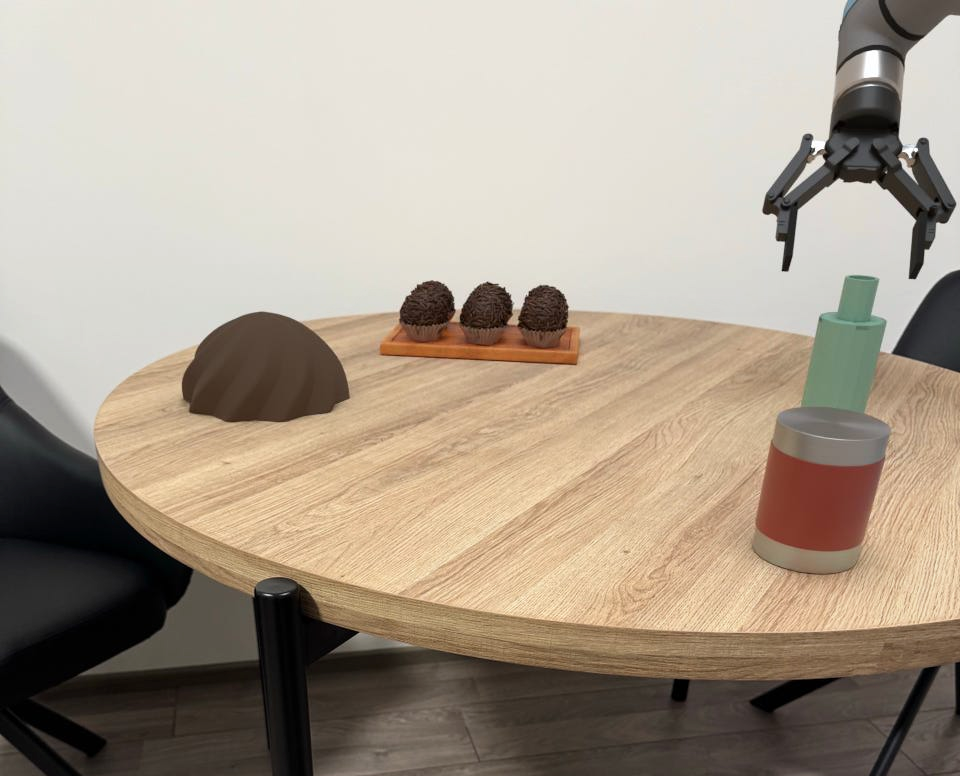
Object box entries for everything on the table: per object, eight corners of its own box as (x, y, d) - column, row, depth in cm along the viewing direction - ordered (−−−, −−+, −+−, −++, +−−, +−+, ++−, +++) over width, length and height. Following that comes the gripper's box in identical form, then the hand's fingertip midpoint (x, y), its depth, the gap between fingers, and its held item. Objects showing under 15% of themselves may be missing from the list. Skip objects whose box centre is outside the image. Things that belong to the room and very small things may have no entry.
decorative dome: (328, 371, 121) (323, 292, 116) (364, 414, 105) (360, 325, 100) (178, 381, 115) (165, 298, 110) (191, 429, 99) (178, 335, 94)
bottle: (846, 431, 104) (884, 273, 95) (864, 450, 98) (906, 284, 89) (788, 429, 104) (820, 271, 95) (803, 448, 98) (838, 282, 89)
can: (840, 532, 79) (871, 408, 73) (872, 577, 72) (909, 442, 66) (741, 528, 79) (764, 404, 74) (762, 572, 72) (790, 438, 66)
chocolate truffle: (579, 338, 141) (583, 280, 136) (577, 364, 127) (581, 301, 122) (401, 329, 143) (400, 273, 139) (380, 355, 129) (378, 292, 125)
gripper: (969, 138, 106) (959, 296, 101) (750, 131, 111) (730, 281, 106) (995, 84, 99) (985, 251, 94) (759, 79, 103) (739, 238, 99)
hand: (850, 267), depth 100 cm, fingers open, 13 cm apart
